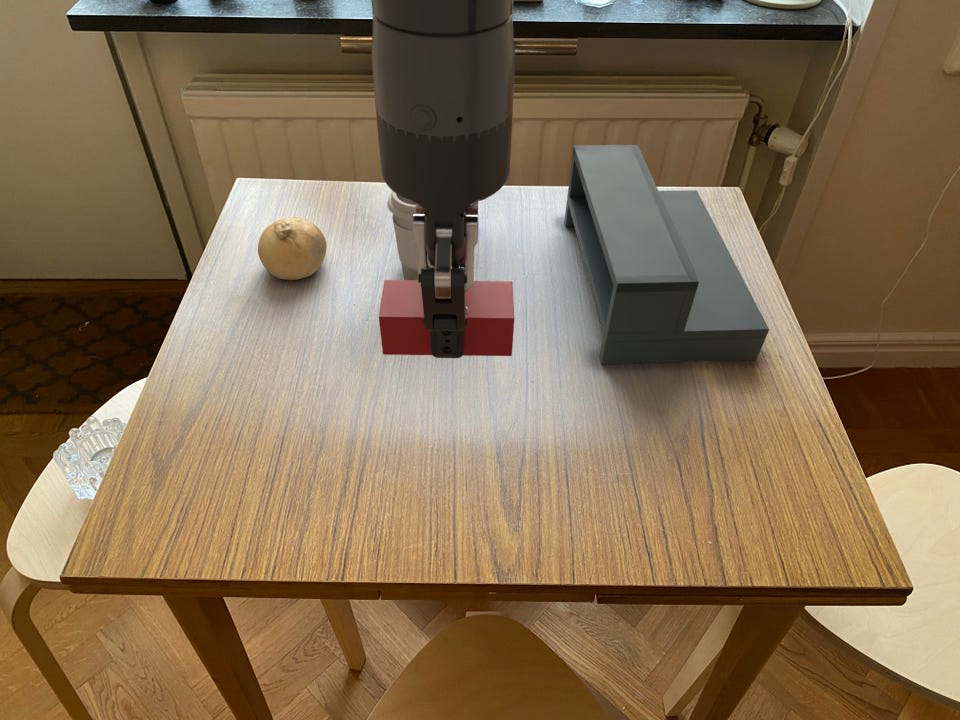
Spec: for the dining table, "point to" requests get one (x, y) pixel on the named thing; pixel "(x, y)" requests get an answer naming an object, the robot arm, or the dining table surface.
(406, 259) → the cup
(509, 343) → the red rectangular block
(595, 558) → the dining table surface
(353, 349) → the dining table surface
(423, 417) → the dining table surface
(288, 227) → the onion
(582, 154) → the shelf
